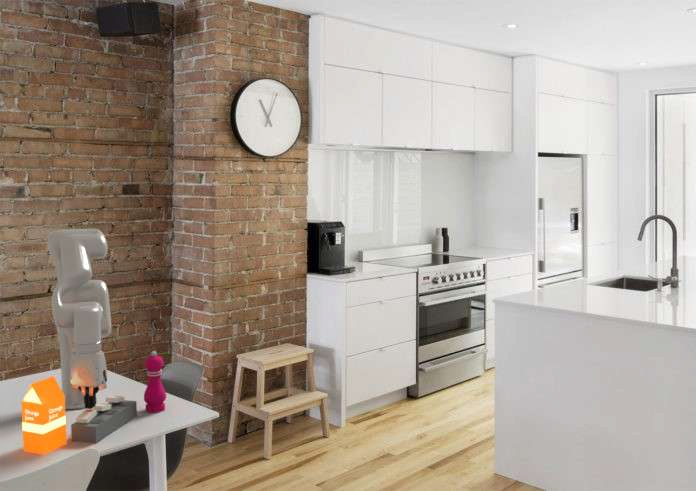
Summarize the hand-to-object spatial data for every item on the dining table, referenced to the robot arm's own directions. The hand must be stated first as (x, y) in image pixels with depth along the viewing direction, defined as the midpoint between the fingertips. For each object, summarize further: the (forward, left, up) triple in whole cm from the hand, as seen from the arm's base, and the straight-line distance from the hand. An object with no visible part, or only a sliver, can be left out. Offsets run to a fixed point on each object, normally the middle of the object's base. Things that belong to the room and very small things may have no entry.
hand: (90, 407), depth 213 cm
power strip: (+1, +9, -9) cm, 13 cm away
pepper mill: (+8, +25, -9) cm, 28 cm away
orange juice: (-8, -12, -9) cm, 16 cm away
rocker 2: (0, +6, -3) cm, 7 cm away
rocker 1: (0, -2, -3) cm, 3 cm away
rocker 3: (0, +14, -3) cm, 14 cm away
